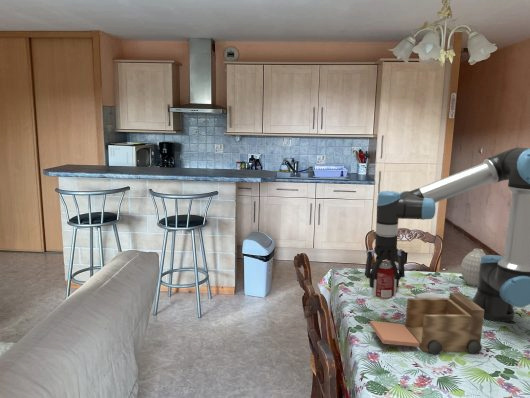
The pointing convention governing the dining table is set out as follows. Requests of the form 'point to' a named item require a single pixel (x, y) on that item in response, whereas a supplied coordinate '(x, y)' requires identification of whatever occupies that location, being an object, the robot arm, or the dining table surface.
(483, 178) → the robot arm
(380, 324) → the cabinet door
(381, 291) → the soda can
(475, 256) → the vase
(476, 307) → the truck
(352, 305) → the dining table surface
